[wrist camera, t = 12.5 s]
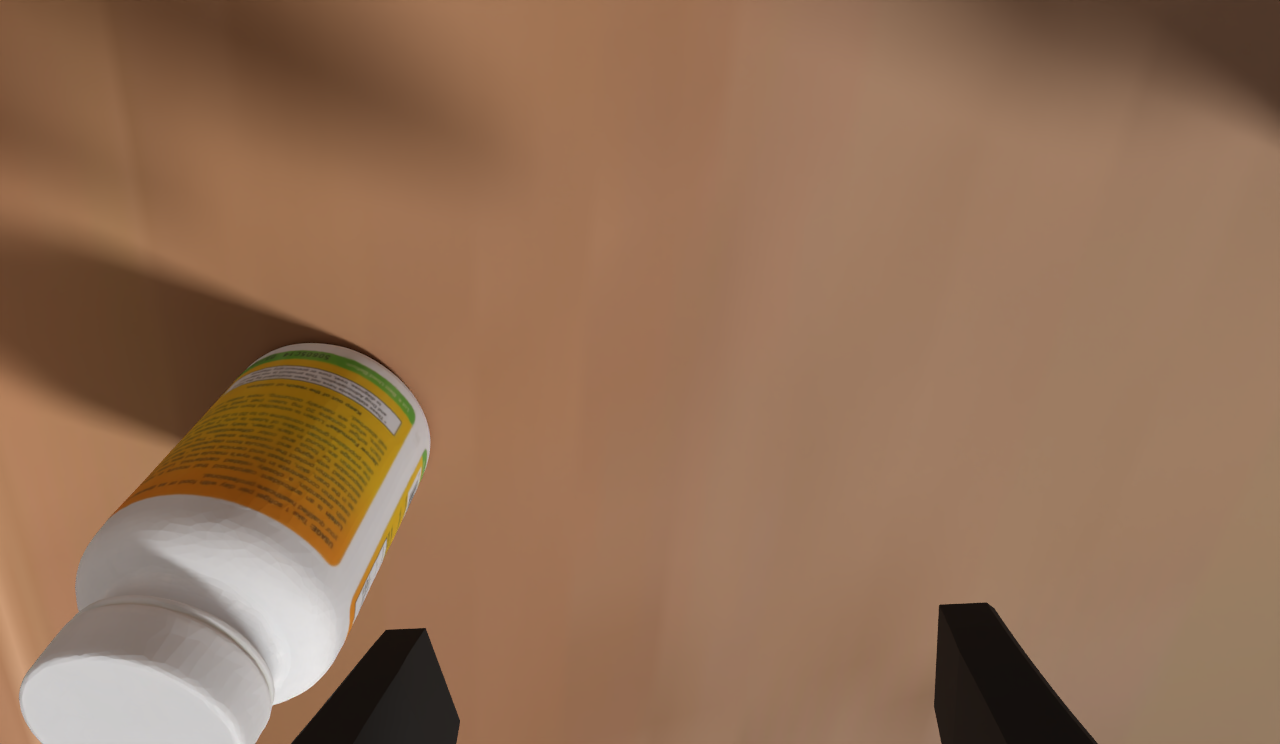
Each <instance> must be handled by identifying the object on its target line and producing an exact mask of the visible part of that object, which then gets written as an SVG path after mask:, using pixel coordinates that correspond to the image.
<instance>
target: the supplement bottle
mask: <svg viewBox="0 0 1280 744" xmlns="http://www.w3.org/2000/svg"><path fill="white" fill-rule="evenodd" d="M429 453H430V433H429V428H428V424H427V420H426V418H425V415H424V412H423V410H422V408H421V407H420V405H419V403H418V401H417V400H416V398H415V397H414V395H413V394H412V393H411V391H410V390H409V389H408V388H407V386H406V385H405V384H404V383H403V382H402V381H401V380H400V379H399V378H398V377H397V376H396V375H394V374H393V373H392V372H391V371H390V370H388V369H387V368H385V367H384V366H383V365H381V364H380V363H378V362H377V361H375V360H373V359H371V358H369V357H368V356H366V355H364V354H362V353H359V352H357V351H354V350H351V349H348V348H345V347H341V346H336V345H330V344H322V343H301V344H294V345H288V346H284V347H281V348H278V349H276V350H273V351H271V352H269V353H267V354H266V355H264V356H262V357H261V358H259V359H257V360H256V361H255V362H254V363H252V364H251V365H250V366H249V367H248V368H247V369H246V370H245V371H244V372H243V373H242V374H241V375H240V376H239V377H238V378H237V379H236V380H235V381H234V382H233V383H232V385H231V386H230V387H229V388H228V389H227V390H226V391H225V392H224V394H223V395H222V396H221V397H220V398H219V399H218V400H217V401H216V402H215V404H214V405H213V406H212V407H211V408H210V409H209V410H208V411H207V412H206V414H205V415H204V416H203V417H202V418H201V419H200V420H199V421H198V422H197V423H196V424H195V425H194V427H193V428H192V429H191V430H190V431H189V432H188V433H187V434H186V435H185V436H184V438H183V439H182V440H181V441H180V442H179V443H178V444H177V445H176V446H175V447H174V448H173V450H172V451H171V452H170V453H169V454H168V455H167V456H166V457H165V458H164V459H163V461H162V462H161V463H160V464H159V465H158V466H157V467H156V468H155V469H154V470H153V472H152V473H151V474H150V475H149V476H148V477H147V478H146V479H145V480H144V481H143V483H142V484H141V485H140V486H139V487H138V488H137V489H136V490H135V491H134V492H133V493H132V494H131V495H130V496H129V497H128V499H127V500H126V501H125V502H124V503H123V504H122V505H121V506H120V507H119V508H118V509H117V510H116V511H115V512H114V513H113V514H112V516H111V517H110V518H109V519H108V520H107V521H106V523H105V524H104V525H103V526H102V528H101V529H100V530H99V531H98V532H97V533H96V535H95V536H94V537H93V539H92V540H91V542H90V543H89V545H88V546H87V548H86V550H85V552H84V554H83V556H82V558H81V560H80V563H79V567H78V571H77V576H76V585H75V590H76V599H77V605H78V610H79V612H78V613H77V614H76V615H75V616H74V617H73V619H72V620H70V621H69V622H68V623H67V624H66V625H65V626H64V627H63V628H62V629H61V631H60V632H59V633H58V634H57V635H56V637H55V638H54V639H53V640H52V641H51V643H50V644H49V645H48V646H47V648H46V649H45V650H44V651H43V653H42V654H41V655H40V657H39V658H38V659H37V660H36V662H35V663H34V664H33V665H32V667H31V668H30V669H29V671H28V672H27V673H26V675H25V677H24V679H23V681H22V684H21V687H20V693H19V701H20V707H21V712H22V714H23V717H24V719H25V721H26V723H27V725H28V727H29V728H30V730H31V731H32V733H33V734H34V735H35V736H36V737H37V739H38V740H39V741H40V742H41V743H42V744H255V743H256V741H257V739H258V738H259V736H260V734H261V733H262V731H263V730H264V728H265V726H266V724H267V722H268V720H269V718H270V714H271V708H272V705H275V704H278V703H281V702H284V701H287V700H289V699H291V698H293V697H295V696H297V695H299V694H301V693H303V692H304V691H306V690H308V689H309V688H310V687H312V686H313V685H314V684H315V683H316V682H317V681H318V680H319V679H320V678H321V677H322V676H323V675H324V674H325V673H326V672H327V670H328V669H329V668H330V666H331V665H332V663H333V662H334V660H335V658H336V657H337V655H338V653H339V651H340V649H341V647H342V646H343V644H344V642H345V640H346V638H347V636H348V634H349V632H350V630H351V627H352V625H353V623H354V621H355V619H356V617H357V615H358V612H359V610H360V608H361V606H362V604H363V602H364V599H365V597H366V595H367V593H368V591H369V589H370V587H371V585H372V582H373V580H374V578H375V576H376V574H377V572H378V570H379V568H380V566H381V564H382V561H383V559H384V557H385V555H386V553H387V551H388V549H389V547H390V545H391V543H392V540H393V538H394V536H395V534H396V532H397V530H398V528H399V526H400V524H401V521H402V519H403V517H404V515H405V513H406V511H407V509H408V507H409V505H410V503H411V500H412V498H413V496H414V494H415V492H416V490H417V488H418V486H419V483H420V481H421V479H422V476H423V473H424V471H425V468H426V465H427V462H428V458H429Z"/></svg>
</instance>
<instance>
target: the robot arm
mask: <svg viewBox="0 0 1280 744" xmlns="http://www.w3.org/2000/svg"><path fill="white" fill-rule="evenodd" d="M934 708H935V713H936V718H937V723H938V728H939V733H940V738H941V743H942V744H1098V743H1097V742H1096V741H1095V740H1094V739H1093V737H1092V736H1091V735H1090V734H1089V733H1088V731H1087V730H1086V729H1085V728H1084V727H1083V725H1082V724H1081V723H1080V722H1079V721H1078V720H1077V718H1076V717H1075V716H1074V715H1073V714H1072V712H1071V711H1070V710H1069V709H1068V707H1067V706H1066V705H1065V704H1064V702H1063V701H1062V700H1061V699H1060V697H1059V696H1058V695H1057V694H1056V692H1055V691H1054V690H1053V689H1052V687H1051V686H1050V685H1049V683H1048V682H1047V681H1046V679H1045V678H1044V677H1043V676H1042V674H1041V673H1040V672H1039V670H1038V669H1037V668H1036V666H1035V665H1034V664H1033V662H1032V661H1031V660H1030V658H1029V657H1028V656H1027V654H1026V653H1025V652H1024V650H1023V649H1022V648H1021V646H1020V645H1019V643H1018V642H1017V641H1016V639H1015V638H1014V636H1013V635H1012V634H1011V632H1010V631H1009V629H1008V628H1007V626H1006V625H1005V624H1004V622H1003V621H1002V619H1001V618H1000V616H999V615H998V613H997V612H996V610H995V609H994V608H993V607H992V606H990V605H989V604H988V603H967V604H945V605H939V619H938V639H937V659H936V679H935V699H934ZM459 724H460V720H459V717H458V714H457V711H456V709H455V706H454V703H453V701H452V698H451V695H450V693H449V690H448V687H447V685H446V682H445V679H444V676H443V674H442V671H441V668H440V666H439V663H438V660H437V658H436V655H435V652H434V650H433V647H432V644H431V641H430V639H429V636H428V633H427V631H426V628H419V629H397V630H386V631H385V632H384V633H383V634H382V635H381V636H380V637H379V639H378V640H377V641H376V642H375V643H374V645H373V646H372V647H371V648H370V649H369V650H368V652H367V653H366V654H365V655H364V656H363V658H362V659H361V660H360V661H359V663H358V664H357V665H356V666H355V667H354V669H353V670H352V671H351V672H350V674H349V675H348V676H347V677H346V678H345V680H344V681H343V682H342V683H341V685H340V686H339V687H338V688H337V689H336V691H335V692H334V693H333V694H332V695H331V697H330V698H329V699H328V700H327V702H326V703H325V704H324V705H323V706H322V708H321V709H320V710H319V711H318V712H317V714H316V715H315V716H314V717H313V718H312V720H311V721H310V722H309V723H308V724H307V725H306V727H305V728H304V729H303V730H302V731H301V732H300V734H299V735H298V736H297V737H296V738H295V739H294V741H293V742H292V743H291V744H456V742H457V736H458V730H459Z"/></svg>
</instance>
